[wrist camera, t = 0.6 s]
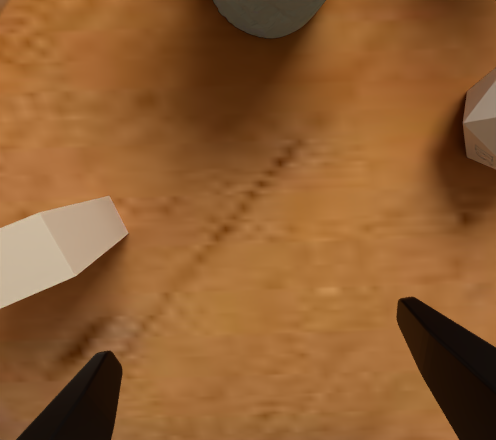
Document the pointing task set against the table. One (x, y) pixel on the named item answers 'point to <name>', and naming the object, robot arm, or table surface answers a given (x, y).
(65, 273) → the white box grey panel
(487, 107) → the die
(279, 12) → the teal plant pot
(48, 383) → the table surface
